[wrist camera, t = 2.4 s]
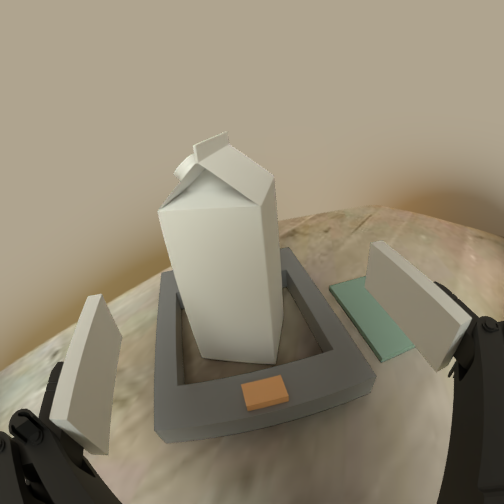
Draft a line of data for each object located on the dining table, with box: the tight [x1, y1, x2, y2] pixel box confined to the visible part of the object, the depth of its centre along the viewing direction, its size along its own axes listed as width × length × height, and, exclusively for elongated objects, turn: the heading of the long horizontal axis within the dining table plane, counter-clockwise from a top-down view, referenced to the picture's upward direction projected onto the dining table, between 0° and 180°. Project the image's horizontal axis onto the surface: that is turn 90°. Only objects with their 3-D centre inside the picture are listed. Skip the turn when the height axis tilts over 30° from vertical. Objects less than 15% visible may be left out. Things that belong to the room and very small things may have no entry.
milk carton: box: [158, 132, 284, 365], centre depth 23 cm, size 7×7×19 cm
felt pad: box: [329, 276, 415, 362], centre depth 28 cm, size 12×12×1 cm
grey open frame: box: [154, 247, 377, 443], centre depth 26 cm, size 17×22×7 cm
